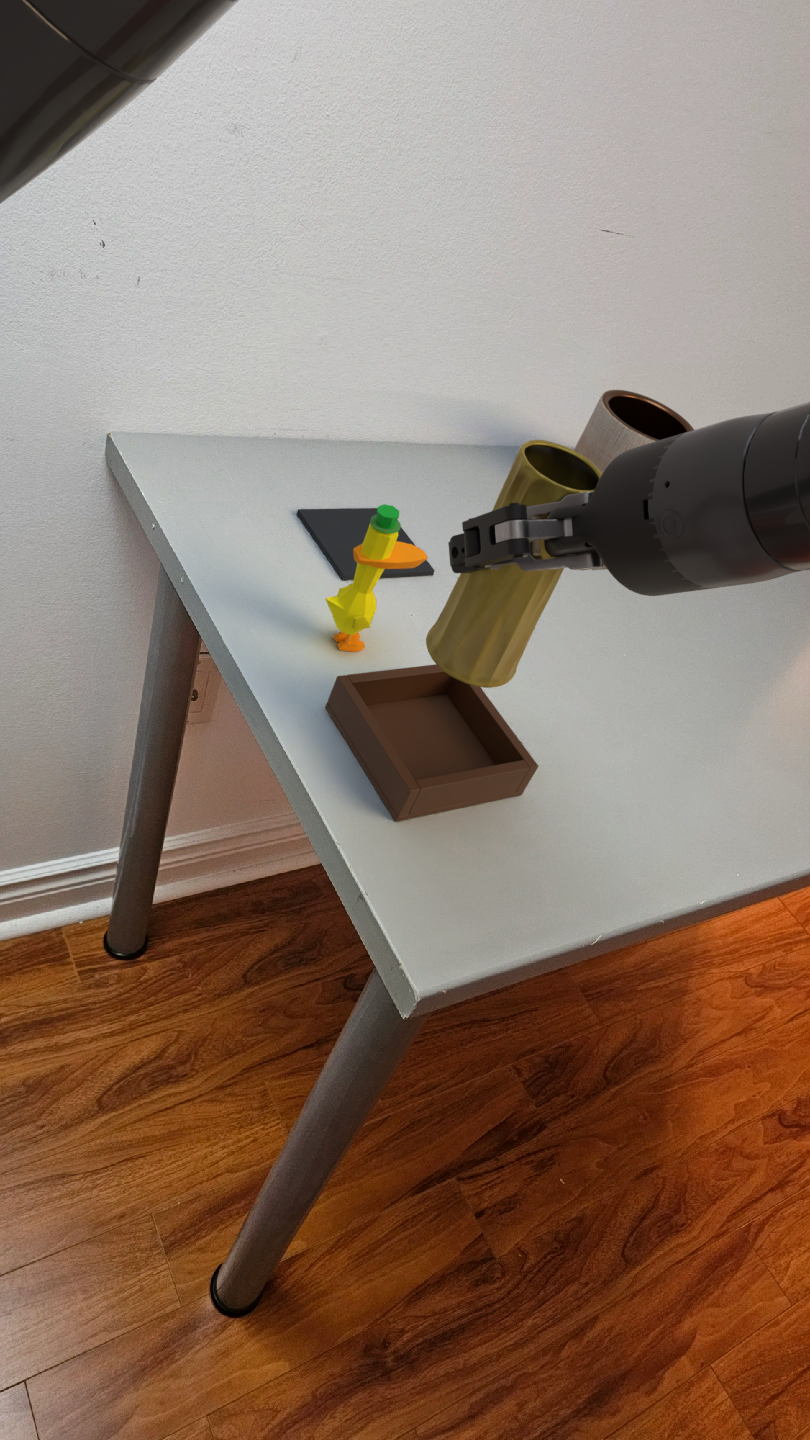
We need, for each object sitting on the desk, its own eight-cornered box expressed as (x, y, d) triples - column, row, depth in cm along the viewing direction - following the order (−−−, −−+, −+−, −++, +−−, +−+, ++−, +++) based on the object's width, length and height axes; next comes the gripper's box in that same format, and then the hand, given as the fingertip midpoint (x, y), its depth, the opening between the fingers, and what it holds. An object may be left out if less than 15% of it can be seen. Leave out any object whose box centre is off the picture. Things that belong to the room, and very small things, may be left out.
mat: (342, 580, 85) (344, 575, 85) (296, 513, 90) (297, 508, 89) (433, 575, 90) (435, 570, 90) (384, 512, 95) (386, 507, 94)
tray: (395, 822, 68) (410, 791, 66) (324, 707, 73) (336, 675, 71) (521, 795, 73) (539, 766, 71) (447, 690, 79) (461, 660, 77)
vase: (452, 693, 64) (549, 496, 55) (408, 627, 68) (493, 431, 59) (530, 685, 67) (634, 498, 58) (484, 623, 71) (576, 437, 62)
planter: (599, 529, 106) (643, 446, 100) (541, 467, 112) (580, 385, 106) (673, 527, 112) (719, 448, 106) (615, 468, 118) (655, 391, 112)
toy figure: (381, 627, 82) (433, 498, 74) (398, 658, 80) (453, 529, 72) (301, 628, 79) (347, 493, 71) (317, 660, 77) (366, 525, 69)
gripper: (805, 435, 54) (579, 495, 68) (595, 419, 46) (390, 490, 60) (814, 583, 54) (587, 612, 68) (607, 591, 46) (400, 621, 61)
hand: (496, 554), depth 64 cm, fingers closed on vase, 5 cm apart
